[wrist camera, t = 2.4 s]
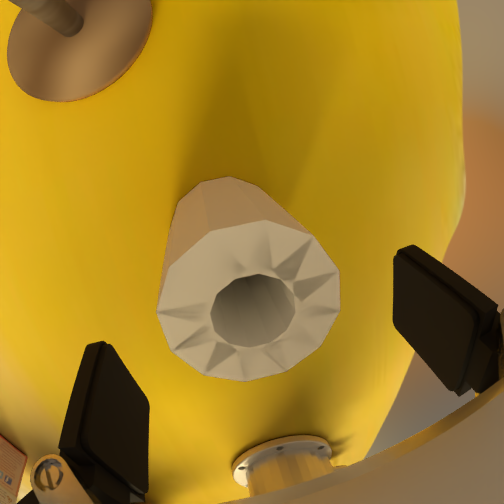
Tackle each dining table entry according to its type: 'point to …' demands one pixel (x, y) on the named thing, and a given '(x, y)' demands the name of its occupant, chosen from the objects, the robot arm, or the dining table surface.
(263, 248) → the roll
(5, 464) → the cracker box
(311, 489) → the robot arm
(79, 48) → the stand
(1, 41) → the dining table surface
